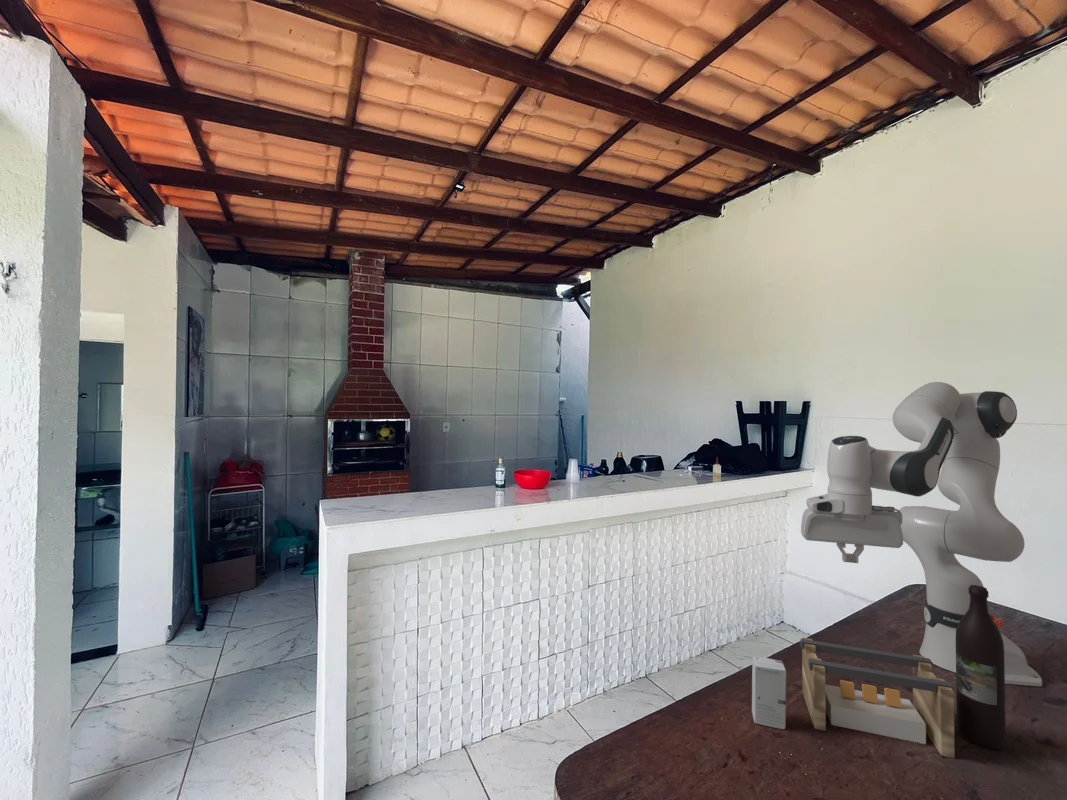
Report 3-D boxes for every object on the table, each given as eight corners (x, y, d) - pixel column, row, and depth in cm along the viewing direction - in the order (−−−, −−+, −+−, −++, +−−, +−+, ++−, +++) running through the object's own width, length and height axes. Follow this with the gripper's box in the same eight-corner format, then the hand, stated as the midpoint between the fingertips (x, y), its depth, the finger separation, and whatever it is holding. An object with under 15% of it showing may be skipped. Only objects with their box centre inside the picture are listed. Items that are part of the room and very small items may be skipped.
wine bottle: (947, 725, 96) (945, 580, 97) (982, 726, 96) (980, 580, 97) (978, 750, 89) (976, 594, 90) (1016, 751, 89) (1014, 594, 90)
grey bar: (949, 690, 90) (949, 682, 90) (953, 695, 89) (953, 686, 89) (808, 666, 99) (808, 658, 99) (809, 670, 97) (809, 662, 97)
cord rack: (924, 715, 100) (923, 656, 100) (954, 758, 87) (953, 690, 88) (802, 692, 108) (802, 637, 108) (814, 728, 96) (813, 666, 96)
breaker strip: (909, 718, 99) (909, 699, 99) (925, 744, 91) (925, 723, 91) (822, 701, 104) (822, 683, 104) (831, 724, 97) (831, 705, 97)
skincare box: (754, 724, 97) (753, 666, 97) (751, 710, 101) (750, 655, 101) (787, 730, 95) (786, 671, 95) (782, 716, 99) (782, 659, 99)
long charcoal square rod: (929, 666, 98) (929, 658, 98) (932, 670, 97) (932, 662, 97) (800, 645, 107) (800, 638, 107) (801, 649, 105) (801, 642, 105)
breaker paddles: (899, 706, 96) (897, 690, 97) (901, 707, 95) (899, 691, 96) (840, 695, 100) (839, 679, 101) (842, 696, 99) (840, 681, 100)
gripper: (897, 504, 111) (897, 562, 110) (799, 498, 118) (800, 553, 118) (907, 510, 105) (908, 571, 104) (804, 503, 112) (804, 561, 112)
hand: (850, 562), depth 111 cm, fingers closed
